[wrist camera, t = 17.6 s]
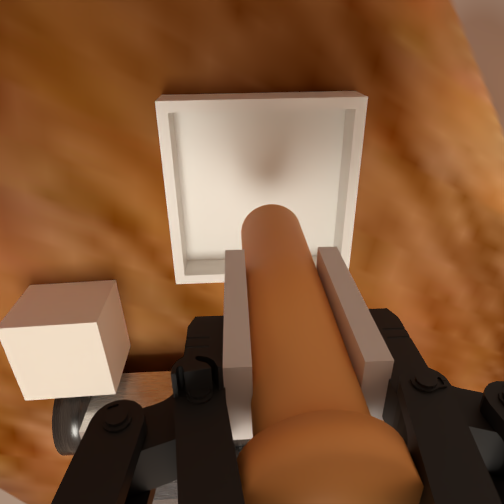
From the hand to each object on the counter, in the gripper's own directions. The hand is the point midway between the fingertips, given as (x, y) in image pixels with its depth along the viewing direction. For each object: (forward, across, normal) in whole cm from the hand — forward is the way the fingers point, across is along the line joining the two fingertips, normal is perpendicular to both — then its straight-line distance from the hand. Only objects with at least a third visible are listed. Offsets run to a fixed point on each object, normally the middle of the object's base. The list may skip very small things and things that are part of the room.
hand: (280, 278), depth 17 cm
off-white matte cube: (+11, -13, -10) cm, 20 cm away
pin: (+5, 0, 0) cm, 5 cm away
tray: (+11, 0, 0) cm, 11 cm away
